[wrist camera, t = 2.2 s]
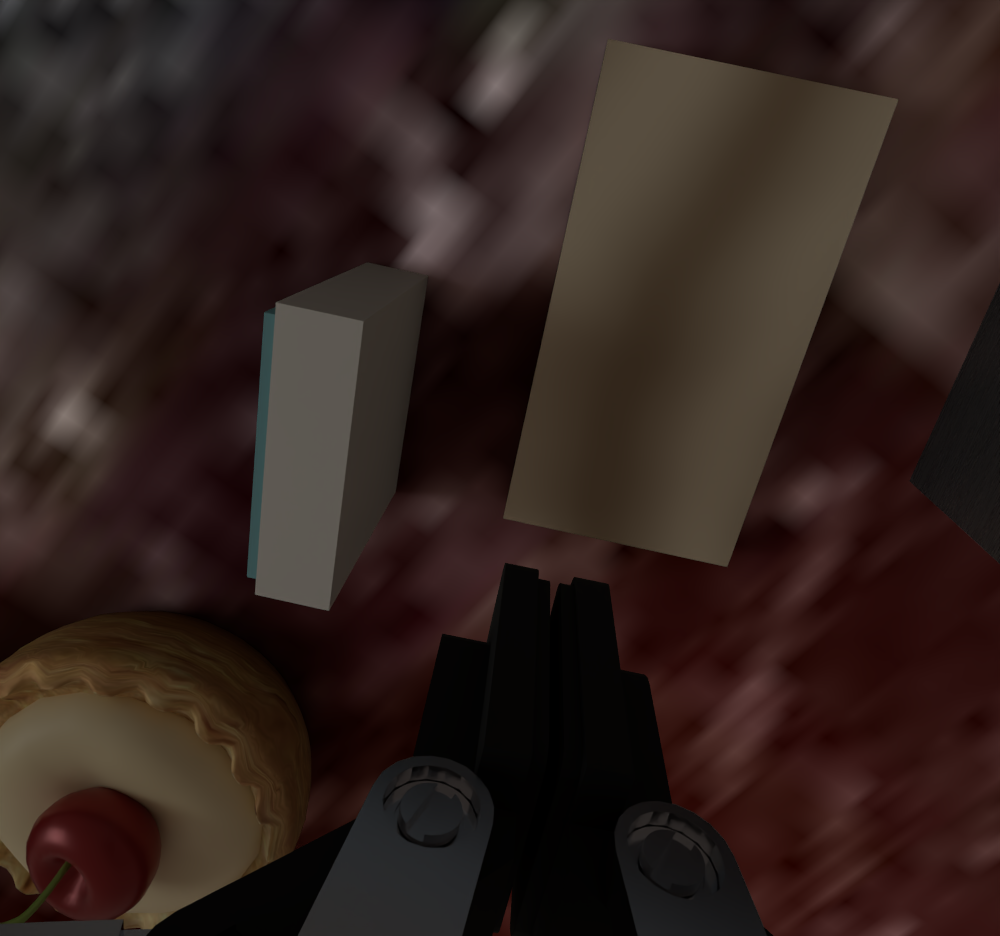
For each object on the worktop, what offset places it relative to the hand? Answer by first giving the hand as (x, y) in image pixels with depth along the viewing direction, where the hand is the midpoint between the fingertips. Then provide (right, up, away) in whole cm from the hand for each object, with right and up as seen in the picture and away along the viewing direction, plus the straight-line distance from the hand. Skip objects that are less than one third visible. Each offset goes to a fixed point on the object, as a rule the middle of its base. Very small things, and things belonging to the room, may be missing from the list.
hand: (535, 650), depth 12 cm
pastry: (-13, -7, +17) cm, 22 cm away
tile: (-4, +5, +11) cm, 13 cm away
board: (+4, +7, +9) cm, 12 cm away
